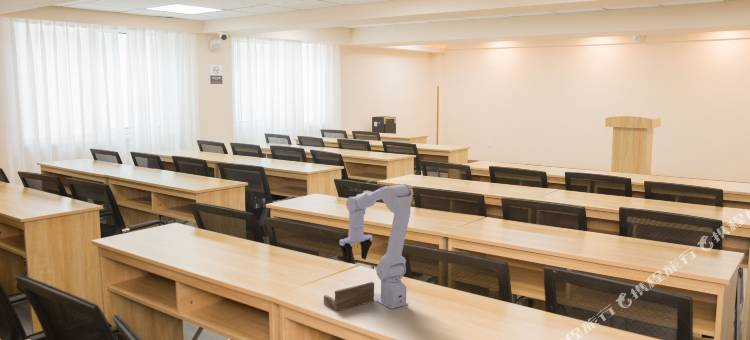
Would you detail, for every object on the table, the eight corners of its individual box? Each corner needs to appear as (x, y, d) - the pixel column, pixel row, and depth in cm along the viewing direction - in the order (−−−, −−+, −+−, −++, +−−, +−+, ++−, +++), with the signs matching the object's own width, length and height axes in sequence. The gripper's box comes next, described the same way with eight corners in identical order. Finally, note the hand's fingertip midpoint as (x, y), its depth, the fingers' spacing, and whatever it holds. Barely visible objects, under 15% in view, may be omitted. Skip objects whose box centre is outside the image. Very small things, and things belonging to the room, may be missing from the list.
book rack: (373, 301, 217) (374, 283, 216) (336, 310, 207) (336, 291, 206) (360, 294, 224) (360, 276, 223) (323, 303, 214) (323, 284, 213)
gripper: (365, 222, 237) (364, 254, 239) (335, 227, 229) (334, 260, 231) (375, 225, 232) (375, 259, 234) (345, 230, 223) (345, 265, 225)
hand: (355, 260), depth 232 cm, fingers open, 7 cm apart
